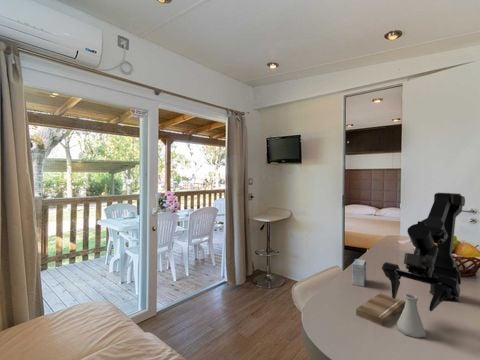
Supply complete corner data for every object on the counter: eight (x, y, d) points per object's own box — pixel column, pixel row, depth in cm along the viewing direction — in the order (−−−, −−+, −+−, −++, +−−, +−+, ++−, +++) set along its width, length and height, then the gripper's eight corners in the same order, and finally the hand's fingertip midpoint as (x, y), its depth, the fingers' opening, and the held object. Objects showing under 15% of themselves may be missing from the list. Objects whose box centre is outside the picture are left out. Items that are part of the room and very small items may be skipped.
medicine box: (364, 287, 103) (364, 265, 103) (352, 284, 105) (352, 263, 105) (366, 280, 110) (366, 260, 109) (354, 278, 112) (355, 258, 112)
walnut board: (380, 298, 93) (380, 292, 93) (405, 306, 87) (405, 300, 87) (356, 314, 82) (356, 308, 82) (382, 326, 76) (382, 319, 76)
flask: (431, 340, 69) (432, 303, 69) (402, 336, 71) (402, 300, 71) (419, 325, 76) (419, 291, 76) (392, 322, 78) (392, 289, 78)
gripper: (384, 237, 84) (368, 278, 77) (458, 249, 69) (446, 302, 62) (393, 256, 89) (379, 297, 82) (464, 272, 74) (454, 323, 67)
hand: (410, 304), depth 73 cm, fingers open, 9 cm apart
